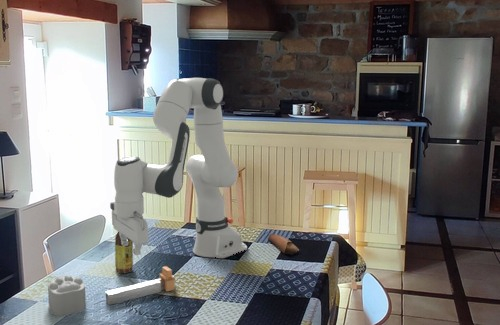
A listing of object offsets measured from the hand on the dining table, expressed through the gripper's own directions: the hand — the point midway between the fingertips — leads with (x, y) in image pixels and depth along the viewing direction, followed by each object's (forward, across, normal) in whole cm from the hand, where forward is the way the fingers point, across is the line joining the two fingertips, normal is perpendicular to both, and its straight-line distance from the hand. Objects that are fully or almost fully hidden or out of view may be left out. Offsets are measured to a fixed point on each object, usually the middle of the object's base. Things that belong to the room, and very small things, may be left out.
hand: (130, 249), depth 173 cm
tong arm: (+16, -1, -1) cm, 16 cm away
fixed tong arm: (+17, +1, -4) cm, 17 cm away
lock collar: (+17, 0, -13) cm, 21 cm away
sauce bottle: (+17, +22, -7) cm, 29 cm away
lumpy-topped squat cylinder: (+17, +6, +19) cm, 26 cm away
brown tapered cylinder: (+18, +10, -73) cm, 75 cm away
